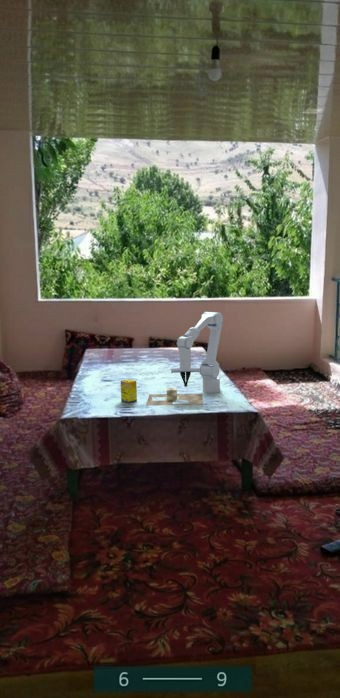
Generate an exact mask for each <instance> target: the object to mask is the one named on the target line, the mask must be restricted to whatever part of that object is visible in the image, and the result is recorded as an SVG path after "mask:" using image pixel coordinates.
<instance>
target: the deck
mask: <svg viewBox="0 0 340 698" xmlns="http://www.w3.org/2000/svg"><path fill="white" fill-rule="evenodd" d="M153 398H165V399H164V400H153ZM203 399H204V398H203V393H177V400H176V401H188V403H174V400H167V393H166V394H165V393H164V394H163V393H157V394H155V393H154V394H152V393H151V394H149V395H148V398H147V401H146V404H145V406H203V405H204V400H203Z"/></svg>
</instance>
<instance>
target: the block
mask: <svg viewBox="0 0 340 698" xmlns="http://www.w3.org/2000/svg"><path fill="white" fill-rule="evenodd" d="M166 394H167V400H173V401H178V400H177V394H178V388H177V387H167V388H166Z"/></svg>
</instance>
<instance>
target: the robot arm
mask: <svg viewBox="0 0 340 698" xmlns="http://www.w3.org/2000/svg"><path fill="white" fill-rule="evenodd" d="M200 317H201V318H200V320H199V321H198V322H197V323H196V325H195V326H193V327H192V326H191V327H190V328H188V329H187V331H186V332H185V333H184V334H183V335H182V336H180V337H178V338H177V341H176V346H177V350H178V353H179V367H177V368H176V367H175V368H174V367H173V368H170V372H171V374H174V373H175V374H176V373H180V377H181V379H182V382H183V385H184V388H187V387H188V383H189V379H190V376H191V373H199V375H200V377H201V378H202V392H204V393H221V378H220V377H219V375H220V364H219V362H218V361H217V354H218V349H219V343H220V338H221V333H222V332H221V331H222V328H223V321H224V316H223V315H222V313H221V312H216V311H215V312H214V311H204V312H203V313H202V314H201V316H200ZM205 327H207V328H209V330H210V333H209V337H208V344H207V351H206V356H205V359H203V360H202V361H201V363H200V364H201V365H200V366H199V367H192V357H191V356H192V355H191V354H192V353H191V350H192V347H193V345H194V342H195V340H196V339H197V338H198V337H200V332H201V331H202V330H203V329H204V328H205Z"/></svg>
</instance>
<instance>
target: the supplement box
mask: <svg viewBox="0 0 340 698" xmlns="http://www.w3.org/2000/svg"><path fill="white" fill-rule="evenodd" d="M137 390H138V389H137V380H134V379H130V378H128V379H123V380H120V399H121V400H120V401H121V402H124V403H127V404H131V403H134V402H135V403H136V402H137V401H138V393H137Z"/></svg>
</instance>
